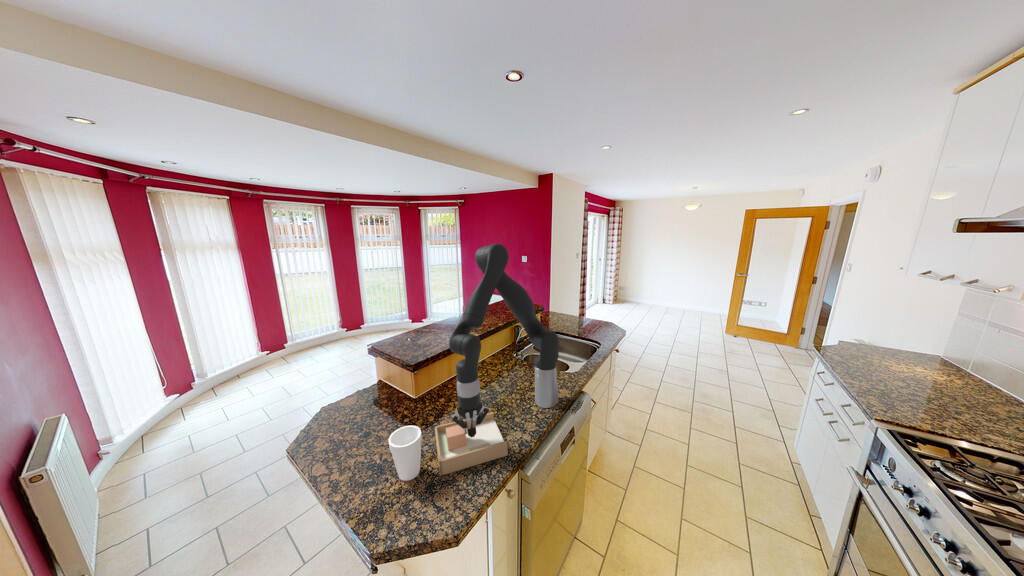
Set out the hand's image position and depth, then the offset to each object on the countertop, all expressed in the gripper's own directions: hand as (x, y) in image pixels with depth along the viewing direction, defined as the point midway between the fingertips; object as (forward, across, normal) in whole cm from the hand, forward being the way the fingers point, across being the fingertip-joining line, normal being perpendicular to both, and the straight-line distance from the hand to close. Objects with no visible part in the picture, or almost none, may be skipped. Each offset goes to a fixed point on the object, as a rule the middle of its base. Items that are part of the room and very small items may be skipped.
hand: (472, 435), depth 97 cm
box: (+4, +1, 0) cm, 4 cm away
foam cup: (+4, +21, +4) cm, 22 cm away
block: (+2, +6, 0) cm, 6 cm away
